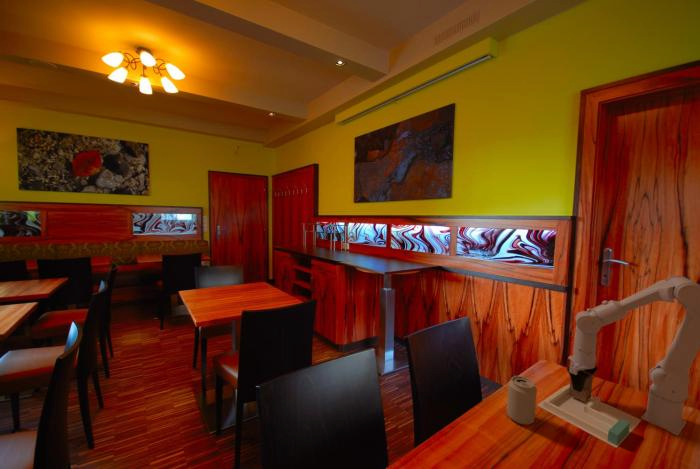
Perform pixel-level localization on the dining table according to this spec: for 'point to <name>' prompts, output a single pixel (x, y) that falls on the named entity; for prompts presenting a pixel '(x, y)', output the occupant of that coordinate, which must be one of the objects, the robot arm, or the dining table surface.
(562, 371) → the dining table surface
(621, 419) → the white tray
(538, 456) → the dining table surface
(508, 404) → the can
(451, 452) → the dining table surface
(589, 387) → the brown rectangular block
